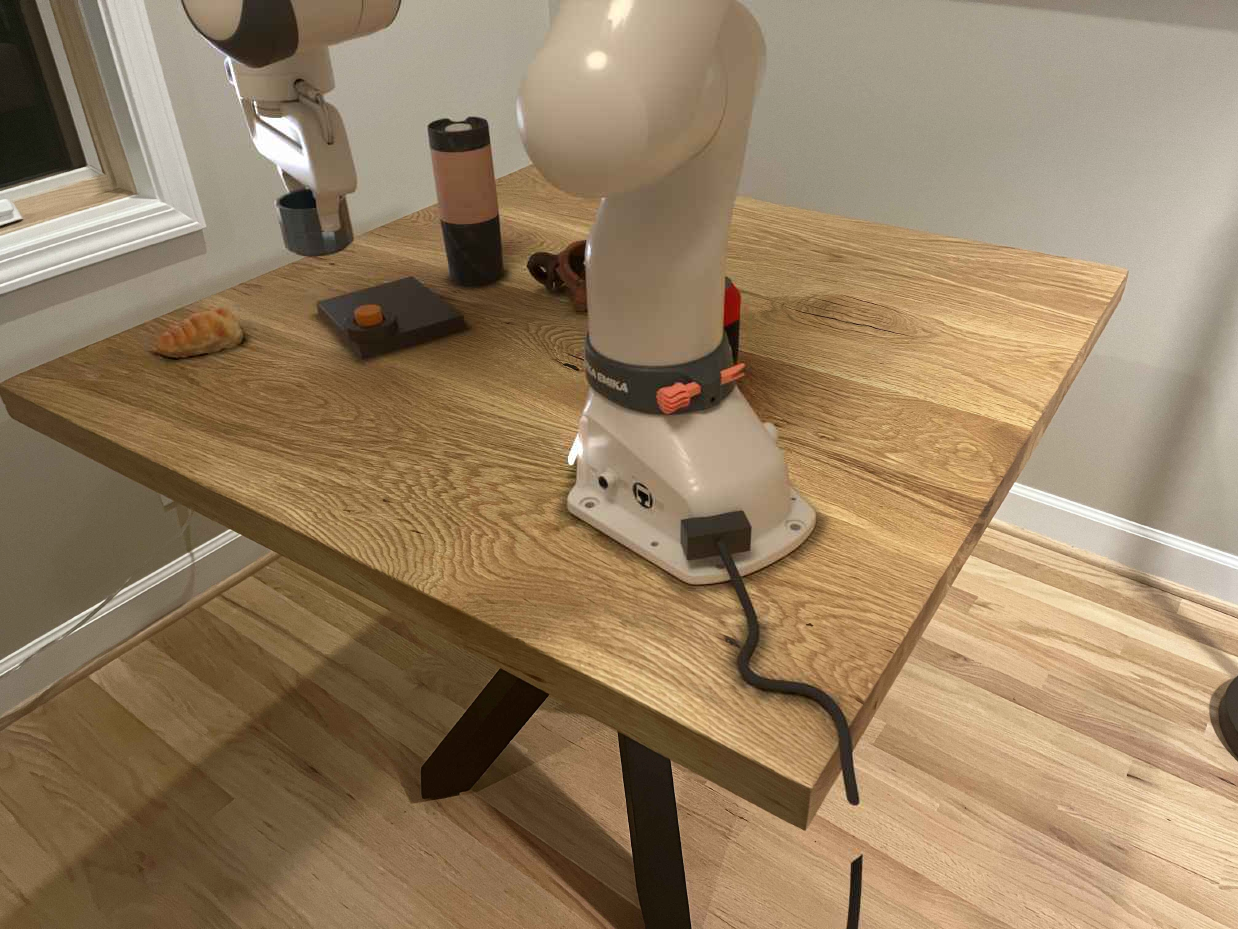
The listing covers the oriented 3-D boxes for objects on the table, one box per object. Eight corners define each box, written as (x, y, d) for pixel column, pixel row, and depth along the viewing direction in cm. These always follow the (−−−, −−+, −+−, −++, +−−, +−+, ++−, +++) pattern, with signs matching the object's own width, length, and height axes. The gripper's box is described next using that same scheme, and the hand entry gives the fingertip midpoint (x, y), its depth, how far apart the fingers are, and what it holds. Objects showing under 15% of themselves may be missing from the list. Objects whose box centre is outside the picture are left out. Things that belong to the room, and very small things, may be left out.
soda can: (677, 412, 91) (678, 303, 85) (655, 377, 97) (654, 273, 91) (747, 400, 93) (753, 292, 86) (721, 367, 99) (725, 263, 92)
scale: (466, 330, 108) (463, 303, 106) (360, 363, 102) (354, 335, 100) (414, 289, 119) (410, 264, 117) (315, 316, 113) (309, 290, 111)
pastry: (168, 368, 103) (157, 338, 101) (152, 348, 107) (141, 319, 105) (249, 343, 108) (240, 313, 105) (230, 325, 112) (221, 296, 110)
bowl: (365, 248, 92) (355, 200, 89) (299, 264, 89) (288, 215, 86) (340, 229, 97) (331, 183, 94) (278, 244, 93) (266, 196, 91)
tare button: (387, 323, 104) (384, 310, 103) (362, 330, 102) (359, 317, 101) (377, 314, 106) (375, 301, 105) (353, 321, 104) (350, 308, 104)
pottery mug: (615, 281, 120) (629, 239, 113) (609, 338, 116) (623, 298, 109) (526, 262, 119) (534, 219, 111) (517, 320, 114) (525, 278, 107)
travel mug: (477, 292, 117) (457, 135, 106) (437, 280, 121) (413, 126, 110) (517, 273, 122) (501, 120, 111) (477, 261, 126) (458, 112, 115)
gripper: (358, 86, 78) (385, 240, 85) (282, 51, 91) (311, 186, 99) (285, 97, 75) (321, 256, 83) (218, 59, 89) (254, 198, 96)
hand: (315, 218), depth 91 cm, fingers closed on bowl, 7 cm apart
